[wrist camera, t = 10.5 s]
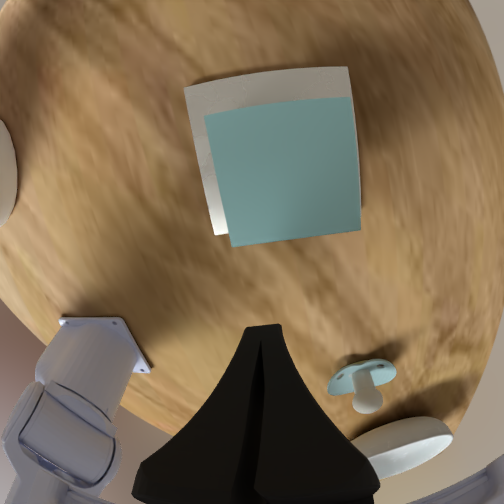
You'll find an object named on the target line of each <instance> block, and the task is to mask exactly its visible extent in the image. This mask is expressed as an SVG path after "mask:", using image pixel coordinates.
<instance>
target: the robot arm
mask: <svg viewBox="0 0 504 504" xmlns="http://www.w3.org/2000/svg"><path fill="white" fill-rule="evenodd" d="M59 323H60V325H61V326H62V327H61V328H60V330H59V331H58V332H57V334H56V335H55V337H54V338H53V339H52V341H51V342H50V344H49V345H48V347H47V348H46V350H45V351H44V352H43V354H42V355H41V357H40V359H39V361H38V362H37V365H36V370H35V379H36V382H31V383H30V384H29V385H28V386H27V388H26V389H25V391H24V392H23V393H22V395H21V397H20V398H19V400H18V402H17V403H16V405H15V407H14V409H13V411H12V413H11V414H10V417H9V419H8V421H7V425H6V427H5V429H4V431H3V434H2V448H3V450H4V452H5V454H6V456H7V458H8V460H9V462H10V464H11V465H12V467H13V469H14V471H15V473H16V474H17V475H16V478H15V480H14V482H13V484H12V487H11V489H10V491H9V494H8V496H7V499H6V501H5V504H114V503H112V502H109V501H106V500H103V499H101V498H98V497H99V496H100V494H101V492H102V490H103V489H104V488H105V487H106V485H107V484H108V483H110V482H111V481H112V480H113V478H114V477H115V476H116V474H117V472H118V470H119V467H120V464H121V460H122V449H121V444H120V441H119V439H118V438H117V437H116V436H115V433H116V431H117V427H116V426H114V425H113V424H112V422H113V419H114V417H115V414H116V411H117V409H118V406H119V404H120V401H121V399H122V396H123V394H124V391H125V389H126V386H127V384H128V381H129V379H130V377H131V374H132V372H138V373H150V372H151V368H150V366H149V364H148V363H147V361H146V359H145V358H144V356H143V354H142V353H141V351H140V349H139V347H138V346H137V344H136V342H135V340H134V338H133V337H132V335H131V333H130V331H129V329H128V327H127V326H126V324H125V322H124V320H123V319H122V318H120V317H60V318H59ZM24 444H25V445H26V446H25V445H24ZM27 446H28V447H29V448H30V449H29V448H28V447H27ZM31 449H32V450H33V451H32V450H31ZM34 451H35V452H36V453H38V454H39V455H40V456H39V455H38V454H36V453H35V452H34ZM41 456H42V457H43V458H42V457H41ZM44 458H45V459H47V460H48V461H47V460H45V459H44ZM49 461H50V462H51V463H50V462H49ZM52 463H53V464H54V465H53V464H52ZM55 465H56V466H55ZM57 466H58V467H59V468H58V467H57ZM60 468H61V469H60ZM62 469H63V470H64V471H63V470H62ZM65 471H66V472H65ZM379 488H380V482H379V479H378V476H377V474H376V472H375V470H374V468H373V466H372V465H371V463H370V461H369V460H368V458H367V457H366V456H365V455H364V454H363V453H362V452H360V451H359V450H358V449H357V448H356V447H355V446H354V445H353V444H352V443H351V442H350V441H349V440H348V439H347V438H346V437H345V436H344V435H343V434H342V433H341V432H340V431H339V429H338V428H337V427H336V426H335V425H334V423H333V422H332V421H331V420H330V419H329V417H328V416H327V415H326V414H325V413H324V411H323V410H322V409H321V407H320V406H319V405H318V403H317V402H316V400H315V399H314V397H313V396H312V394H311V393H310V391H309V390H308V388H307V387H306V385H305V383H304V382H303V380H302V378H301V376H300V374H299V373H298V371H297V369H296V367H295V365H294V363H293V360H292V358H291V356H290V354H289V352H288V349H287V346H286V344H285V341H284V337H283V333H282V326H281V325H280V324H271V325H262V326H252V327H247V328H246V329H245V330H244V333H243V336H242V338H241V341H240V343H239V345H238V347H237V350H236V352H235V354H234V356H233V358H232V360H231V362H230V364H229V366H228V367H227V369H226V371H225V373H224V374H223V376H222V378H221V379H220V381H219V383H218V384H217V386H216V388H215V389H214V390H213V392H212V393H211V395H210V396H209V398H208V399H207V400H206V402H205V403H204V404H203V406H202V407H201V408H200V409H199V411H198V412H197V413H196V414H195V415H194V416H193V418H192V419H191V420H190V421H189V422H188V423H187V424H186V425H185V426H184V427H183V428H182V429H181V430H180V431H179V432H178V433H177V434H176V435H175V436H174V437H173V438H172V439H171V440H170V441H168V442H167V443H166V444H165V445H164V446H163V447H161V448H160V449H159V450H158V451H156V452H155V453H153V454H152V455H151V456H149V457H148V458H147V459H146V460H144V461H143V462H141V464H140V467H139V469H138V471H137V474H136V477H135V482H134V486H133V490H132V493H131V494H132V495H133V497H134V498H136V499H137V500H139V501H141V502H144V503H146V504H374V499H373V494H374V493H375V492H377V490H378V489H379ZM407 504H504V454H503V455H502V456H500V457H498V458H497V459H496V460H494V461H493V462H491V463H490V464H489V465H487V467H486V468H484V469H482V470H480V471H479V472H477V473H475V474H473V475H472V476H470V477H468V478H466V479H464V480H462V481H460V482H458V483H456V484H454V485H452V486H450V487H447V488H445V489H443V490H441V491H438V492H436V493H434V494H431V495H429V496H426V497H424V498H421V499H419V500H416V501H413V502H410V503H407Z"/></svg>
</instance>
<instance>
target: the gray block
mask: <svg viewBox="0 0 504 504" xmlns="http://www.w3.org/2000/svg"><path fill="white" fill-rule="evenodd" d="M184 93H185V98H186V103H187V109H188V114H189V119H190V124H191V129H192V134H193V139H194V144H195V149H196V154H197V158H198V163H199V168H200V172H201V177H202V182H203V186H204V191H205V195H206V200H207V204H208V209H209V213H210V217H211V222H212V226H213V230H214V234H215V235H220V234H227V233H229V232H228V228H227V223H226V219H225V214H224V210H223V205H222V201H221V196H220V191H219V187H218V182H217V177H216V173H215V168H214V163H213V159H212V154H211V149H210V144H209V139H208V135H207V130H206V125H205V120H204V116H205V115H210V114H214V113H219V112H224V111H229V110H234V109H240V108H245V107H251V106H257V105H264V104H271V103H279V102H287V101H296V100H306V99H318V98H335V97H350V99H351V105H352V113H353V120H354V129H355V138H356V148H357V159H358V173H359V190H360V217H361V187H360V167H359V153H358V141H357V131H356V121H355V113H354V105H353V98H352V91H351V84H350V78H349V72H348V67H311V68H296V69H285V70H276V71H267V72H260V73H253V74H247V75H241V76H235V77H229V78H224V79H219V80H214V81H210V82H205V83H201V84H197V85H193V86H189V87H185V88H184Z"/></svg>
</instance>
